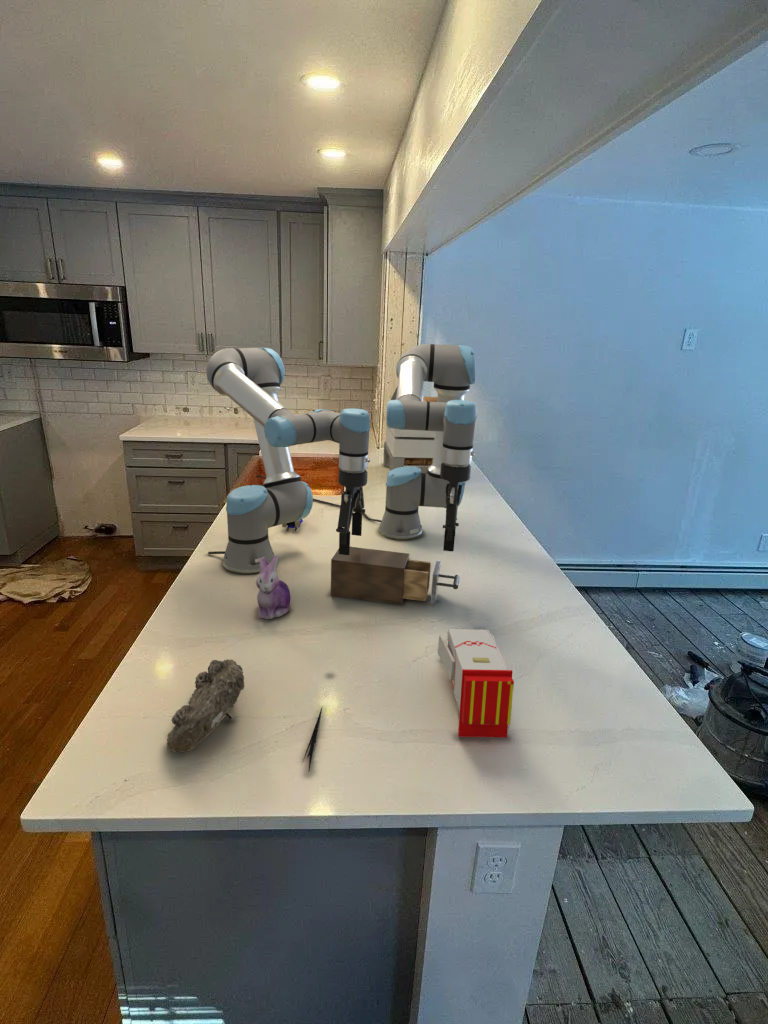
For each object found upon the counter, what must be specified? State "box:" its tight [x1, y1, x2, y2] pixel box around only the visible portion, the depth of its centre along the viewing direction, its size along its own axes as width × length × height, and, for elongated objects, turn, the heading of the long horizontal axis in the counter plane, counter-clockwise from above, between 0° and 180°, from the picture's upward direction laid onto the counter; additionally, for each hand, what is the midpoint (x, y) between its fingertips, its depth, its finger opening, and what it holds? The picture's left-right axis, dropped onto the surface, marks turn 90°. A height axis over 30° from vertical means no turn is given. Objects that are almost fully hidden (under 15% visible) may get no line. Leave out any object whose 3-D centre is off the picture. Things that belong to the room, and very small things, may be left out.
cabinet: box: [330, 546, 411, 606], centre depth 157 cm, size 20×10×11 cm, turn 79°
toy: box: [437, 628, 515, 738], centre depth 117 cm, size 12×13×30 cm
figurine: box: [255, 555, 292, 620], centre depth 143 cm, size 9×10×15 cm
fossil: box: [166, 658, 245, 754], centre depth 106 cm, size 22×10×15 cm
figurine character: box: [281, 519, 304, 532], centre depth 201 cm, size 7×8×15 cm
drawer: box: [403, 558, 461, 606], centre depth 155 cm, size 24×9×9 cm, turn 79°
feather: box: [301, 673, 332, 771], centre depth 108 cm, size 2×28×2 cm
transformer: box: [383, 387, 438, 472], centre depth 268 cm, size 34×33×41 cm
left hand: (350, 544), depth 155 cm, fingers open, 13 cm apart
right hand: (448, 550), depth 150 cm, fingers closed
